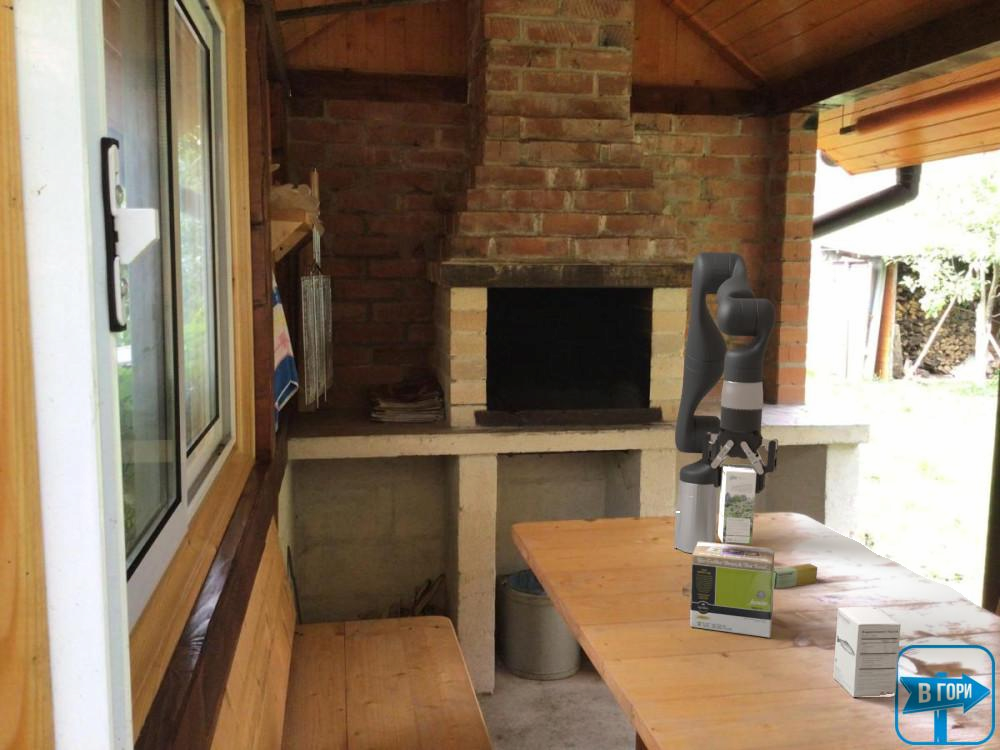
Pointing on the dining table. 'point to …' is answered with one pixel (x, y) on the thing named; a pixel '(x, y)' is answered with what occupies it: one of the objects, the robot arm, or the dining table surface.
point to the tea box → (732, 588)
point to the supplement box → (866, 651)
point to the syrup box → (736, 504)
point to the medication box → (794, 575)
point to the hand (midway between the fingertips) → (737, 489)
